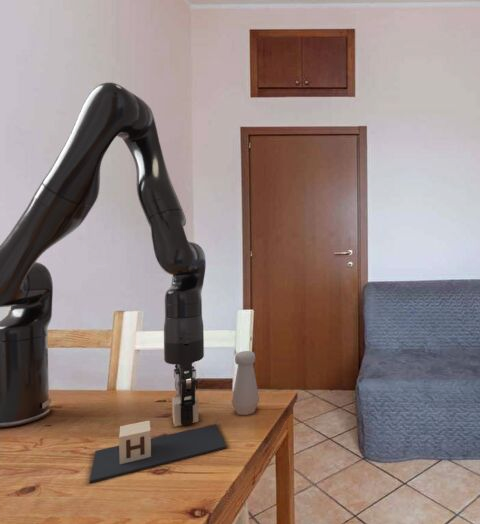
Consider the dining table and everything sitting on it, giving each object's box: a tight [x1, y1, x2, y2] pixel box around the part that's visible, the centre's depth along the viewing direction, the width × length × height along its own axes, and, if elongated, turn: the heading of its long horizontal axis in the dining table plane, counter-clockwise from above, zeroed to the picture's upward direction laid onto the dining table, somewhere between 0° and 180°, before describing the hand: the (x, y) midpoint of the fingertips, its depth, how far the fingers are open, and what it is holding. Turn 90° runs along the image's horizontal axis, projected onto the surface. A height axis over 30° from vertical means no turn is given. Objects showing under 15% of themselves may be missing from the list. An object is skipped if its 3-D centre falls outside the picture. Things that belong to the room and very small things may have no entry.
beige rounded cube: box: [118, 420, 152, 464], centre depth 63 cm, size 4×5×4 cm
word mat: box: [88, 423, 227, 484], centre depth 65 cm, size 20×10×1 cm, turn 120°
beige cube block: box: [171, 393, 199, 428], centre depth 77 cm, size 4×5×4 cm
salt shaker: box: [231, 350, 260, 416], centre depth 82 cm, size 6×6×13 cm
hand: (185, 418), depth 77 cm, fingers closed on beige cube block, 4 cm apart
